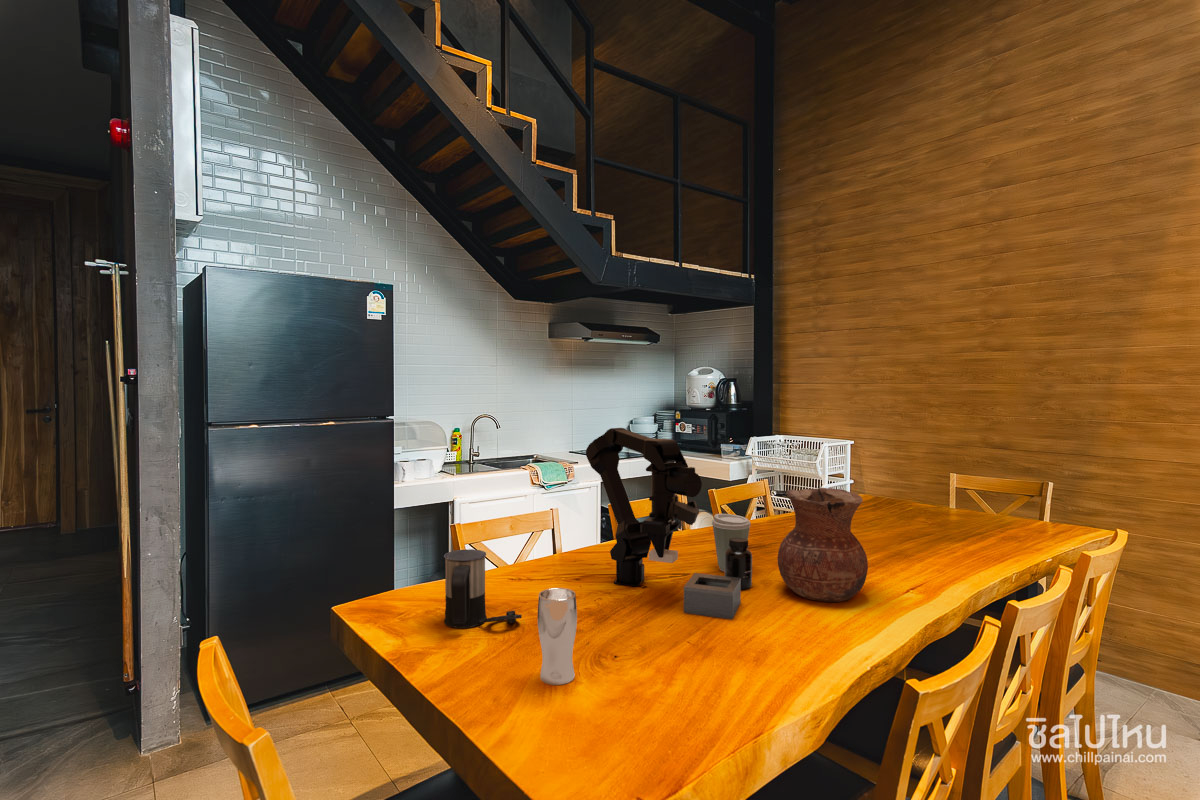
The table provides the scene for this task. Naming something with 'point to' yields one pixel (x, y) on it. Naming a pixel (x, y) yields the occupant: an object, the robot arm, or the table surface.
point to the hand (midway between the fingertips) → (663, 555)
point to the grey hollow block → (712, 595)
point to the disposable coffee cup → (728, 533)
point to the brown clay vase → (823, 546)
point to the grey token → (668, 556)
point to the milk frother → (467, 590)
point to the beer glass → (557, 634)
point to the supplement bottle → (739, 561)
